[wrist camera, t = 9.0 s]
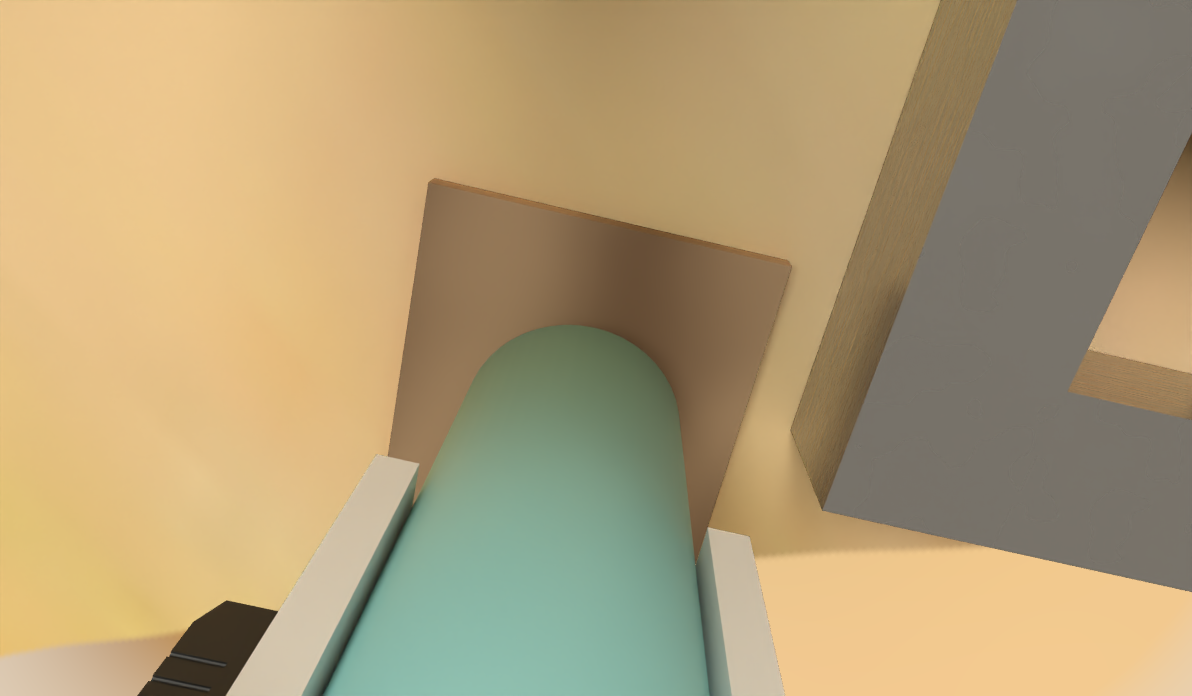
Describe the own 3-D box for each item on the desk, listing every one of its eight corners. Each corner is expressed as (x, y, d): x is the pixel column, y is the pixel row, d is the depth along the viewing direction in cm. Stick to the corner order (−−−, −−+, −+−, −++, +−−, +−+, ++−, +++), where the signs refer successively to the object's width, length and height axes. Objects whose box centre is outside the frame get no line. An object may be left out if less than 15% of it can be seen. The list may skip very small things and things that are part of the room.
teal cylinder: (448, 494, 21) (59, 1440, 7) (484, 302, 19) (45, 1061, 5) (650, 538, 21) (675, 1548, 7) (704, 352, 19) (890, 1223, 5)
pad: (387, 487, 23) (381, 498, 23) (434, 178, 20) (428, 182, 20) (693, 554, 24) (694, 566, 23) (787, 260, 20) (792, 267, 20)
